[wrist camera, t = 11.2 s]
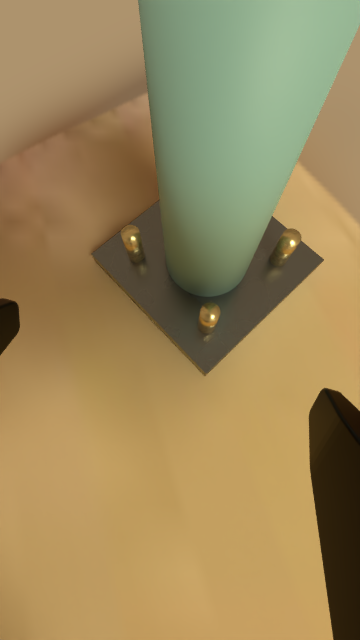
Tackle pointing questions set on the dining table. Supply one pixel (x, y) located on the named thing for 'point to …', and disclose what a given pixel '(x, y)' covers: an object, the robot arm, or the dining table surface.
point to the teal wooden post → (233, 119)
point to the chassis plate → (198, 311)
